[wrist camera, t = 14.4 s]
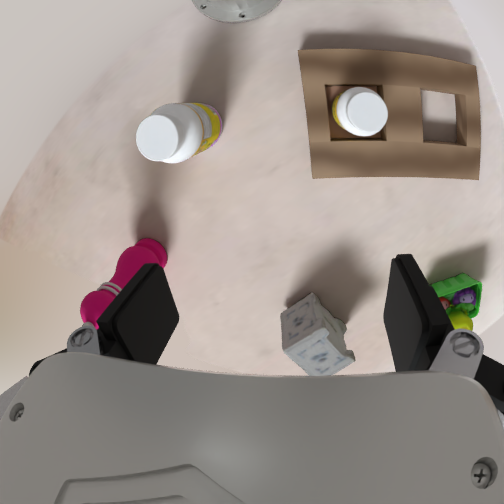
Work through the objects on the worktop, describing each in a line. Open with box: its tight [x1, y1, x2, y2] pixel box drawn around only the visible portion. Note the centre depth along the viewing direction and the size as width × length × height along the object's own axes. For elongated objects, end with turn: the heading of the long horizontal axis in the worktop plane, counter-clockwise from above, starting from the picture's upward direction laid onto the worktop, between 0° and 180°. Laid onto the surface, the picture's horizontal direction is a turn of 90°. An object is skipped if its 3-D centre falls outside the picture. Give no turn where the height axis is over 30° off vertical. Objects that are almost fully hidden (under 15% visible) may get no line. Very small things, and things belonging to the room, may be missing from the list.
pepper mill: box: [80, 238, 167, 329], centre depth 38 cm, size 7×7×20 cm
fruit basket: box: [429, 273, 482, 331], centre depth 36 cm, size 11×9×11 cm
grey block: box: [280, 292, 355, 376], centre depth 43 cm, size 10×8×10 cm
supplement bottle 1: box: [136, 103, 222, 163], centre depth 30 cm, size 7×7×13 cm
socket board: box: [298, 49, 481, 180], centre depth 29 cm, size 16×24×3 cm, turn 98°
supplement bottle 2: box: [332, 87, 388, 136], centre depth 27 cm, size 5×5×10 cm
